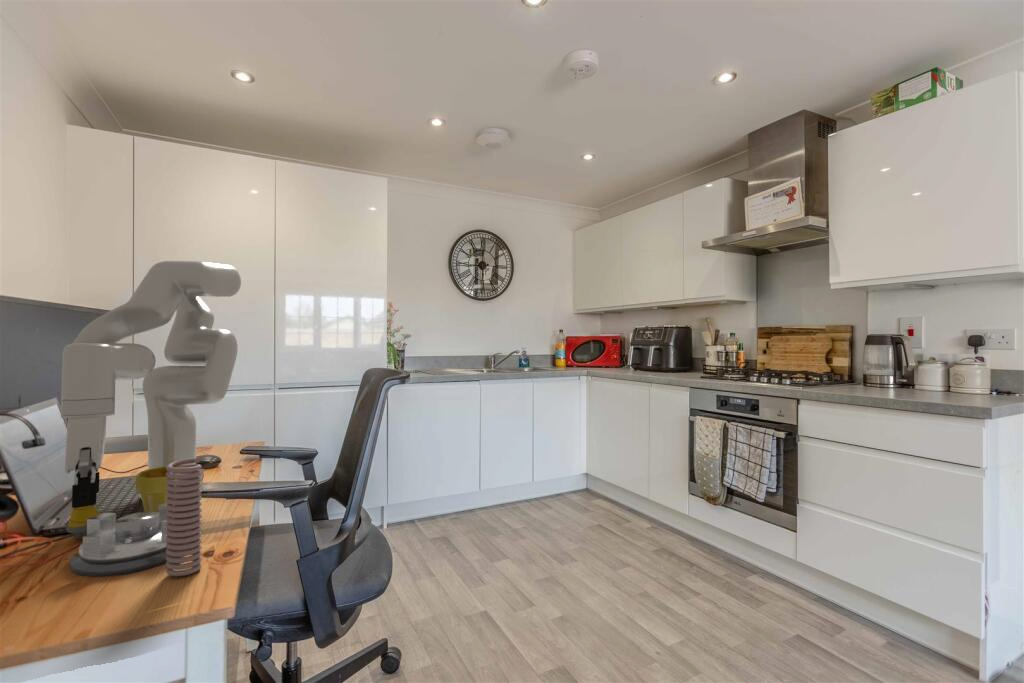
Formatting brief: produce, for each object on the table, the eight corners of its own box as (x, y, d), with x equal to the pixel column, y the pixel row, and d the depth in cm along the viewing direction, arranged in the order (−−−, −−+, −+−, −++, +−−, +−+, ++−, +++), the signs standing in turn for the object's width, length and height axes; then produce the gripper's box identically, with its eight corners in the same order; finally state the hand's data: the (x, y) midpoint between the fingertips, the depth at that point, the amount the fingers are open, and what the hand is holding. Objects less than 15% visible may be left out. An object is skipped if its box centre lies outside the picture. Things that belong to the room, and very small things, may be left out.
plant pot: (201, 516, 98) (201, 470, 98) (138, 530, 91) (138, 480, 91) (191, 504, 105) (191, 461, 105) (133, 516, 98) (133, 470, 98)
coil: (187, 580, 72) (188, 464, 72) (158, 580, 72) (158, 464, 72) (208, 565, 76) (208, 457, 76) (180, 565, 76) (180, 456, 76)
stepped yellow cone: (115, 529, 90) (104, 482, 88) (88, 547, 84) (76, 497, 82) (90, 528, 90) (79, 482, 88) (61, 546, 85) (49, 497, 83)
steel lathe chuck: (82, 540, 82) (82, 515, 82) (186, 519, 92) (186, 497, 92) (74, 572, 70) (74, 544, 70) (195, 544, 80) (195, 519, 80)
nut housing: (75, 550, 82) (75, 540, 82) (192, 525, 93) (192, 517, 93) (64, 589, 69) (64, 578, 69) (202, 555, 80) (202, 545, 80)
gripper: (65, 406, 91) (63, 493, 91) (55, 414, 78) (52, 516, 77) (115, 403, 96) (113, 486, 96) (113, 410, 83) (111, 507, 82)
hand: (86, 499), depth 87 cm, fingers open, 9 cm apart
